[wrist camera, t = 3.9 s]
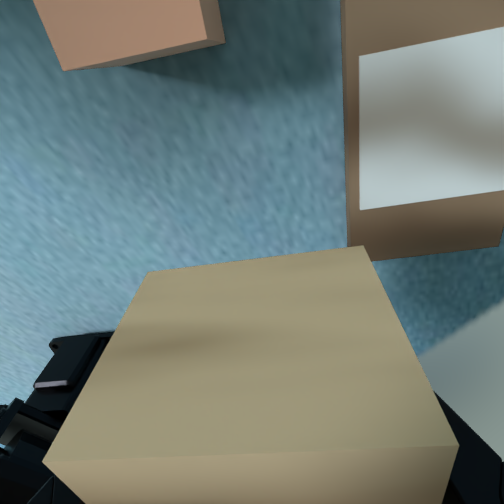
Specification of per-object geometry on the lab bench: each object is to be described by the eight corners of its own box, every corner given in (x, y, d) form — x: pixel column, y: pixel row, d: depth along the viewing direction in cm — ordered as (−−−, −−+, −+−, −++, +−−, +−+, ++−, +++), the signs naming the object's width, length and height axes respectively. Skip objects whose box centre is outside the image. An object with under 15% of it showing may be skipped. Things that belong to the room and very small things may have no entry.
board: (488, 237, 19) (501, 248, 17) (347, 254, 20) (351, 265, 19) (568, -102, 11) (598, -118, 10) (339, -46, 12) (345, -55, 11)
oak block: (362, 387, 11) (417, 584, 7) (202, 397, 12) (166, 580, 8) (363, 245, 8) (460, 445, 4) (147, 272, 9) (42, 461, 5)
